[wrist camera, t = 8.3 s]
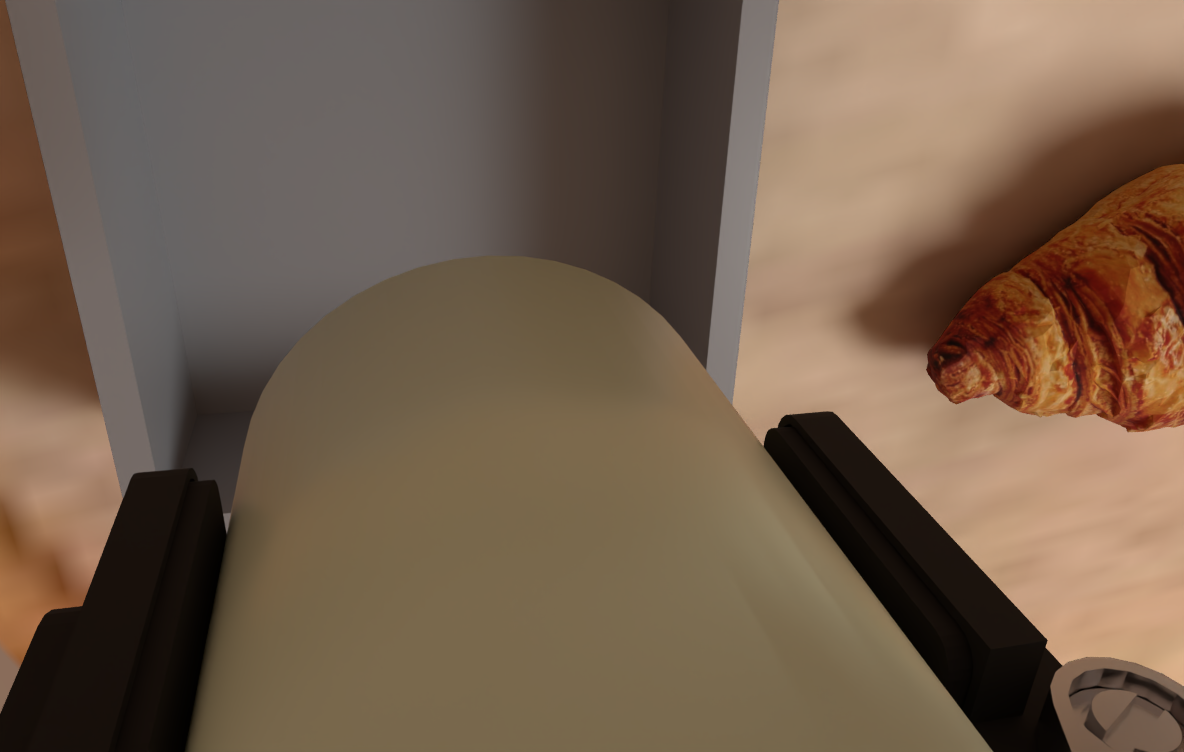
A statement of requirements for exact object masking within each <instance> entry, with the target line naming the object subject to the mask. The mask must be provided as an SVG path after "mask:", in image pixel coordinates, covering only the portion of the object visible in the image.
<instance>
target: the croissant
mask: <svg viewBox="0 0 1184 752" xmlns="http://www.w3.org/2000/svg"><path fill="white" fill-rule="evenodd" d="M927 357H928V365H927V369H926V370H927V372H928V375H929V376H930V378H931V379H932V380H933V381H934V383H935V385H936V388H937V389H938V391H940V392H941V393H942V394H943V395H945V396H946V397H947V398H948V399H949V401H950V402H953V403H955V404H959V403H961V402H964V401H966V400H969V399H971V398H979V397H982V396H986V395H991V394H993V395H994V396H995V397H996V398H998V399H999V400H1001V401H1002V402H1004V403H1005V404H1007V405H1008V406H1010V407H1012V408H1014V409H1015V410H1017V411H1019V412H1022V413H1026V414H1031V415H1037V416H1039V417H1042V416H1046V417H1047V416H1051V415H1055V414H1059V413H1066V414H1067V415H1068V416H1071V417H1075V418H1076V417H1079V416H1084V415H1092V414H1097V415H1098V416H1100V417H1102V418H1104V419H1106V420H1109V421H1111V422H1113V423H1116V424H1119V425H1121V426H1122V427H1125V428H1126V429H1127V431H1128V432H1144V431H1150V430H1155V429H1160V428H1163V427H1177V426H1180V425H1183V424H1184V164H1175V165H1167V166H1161V167H1159V168H1157V169H1155V170H1153V171H1151V172H1148V173H1146V174H1144V175H1142V176H1140V177H1138V178H1136V179H1134V180H1132V181H1131V182H1129V183H1127V184H1125V185H1123V186H1121V187H1120V188H1118V189H1116V190H1115V191H1113V192H1112V193H1110V194H1109V195H1108V196H1106V197H1105V198H1103V199H1101V200H1100V201H1098V202H1097V203H1096V204H1095V205H1094V206H1093V207H1092V208H1091V209H1090V210H1089V211H1088V212H1087V213H1086V214H1085V215H1084V216H1082V217H1081V218H1080V219H1079V220H1077V221H1076V222H1075V223H1074V224H1072V225H1070V226H1069V227H1067V228H1065V229H1063V230H1062V231H1060V232H1058V233H1057V234H1056V235H1055V236H1054V237H1053V238H1052V239H1051V240H1050V241H1049V242H1047V243H1046V244H1045V245H1043V246H1042V247H1041V248H1039V249H1038V250H1036V251H1035V252H1033V253H1032V254H1030V255H1028V256H1027V257H1025V258H1024V259H1023V260H1021V261H1020V262H1019V263H1018V264H1016V265H1015V266H1014V267H1013V268H1012V269H1011V270H1010V271H1008V272H1006V273H1001V274H999V275H997V276H996V277H994V278H992V279H991V280H990V281H989V282H987V283H986V284H985V285H983V286H982V287H981V288H980V289H979V290H978V291H977V292H976V293H975V294H974V295H973V296H972V297H971V298H970V300H969V301H968V302H967V303H966V304H965V305H964V307H963V308H962V309H961V310H960V311H959V313H958V314H957V315H956V317H955V318H954V319H953V321H952V322H951V323H950V324H949V326H948V327H947V329H946V330H945V331H944V333H943V334H942V336H941V337H940V338H939V340H938V341H937V343H936V344H935V345H934V346H933V347H932V348H931V349H930V350H929V352H928V354H927Z"/></svg>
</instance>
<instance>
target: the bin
mask: <svg viewBox="0 0 1184 752" xmlns="http://www.w3.org/2000/svg"><path fill="white" fill-rule="evenodd" d="M5 2H6V6H7V11H8V15H9V19H10V23H11V28H12V32H13V36H14V40H15V45H16V49H17V53H18V57H19V61H20V66H21V70H22V74H23V78H24V83H25V87H26V91H27V95H28V100H29V104H30V108H31V112H32V116H33V121H34V125H35V129H36V133H37V138H38V142H39V146H40V150H41V154H42V159H43V163H44V167H45V171H46V176H47V180H48V184H49V188H50V193H51V197H52V201H53V205H54V209H55V214H56V218H57V222H58V226H59V231H60V235H61V239H62V243H63V247H64V252H65V256H66V260H67V264H68V269H69V273H70V277H71V281H72V286H73V290H74V294H75V298H76V302H77V307H78V311H79V315H80V319H81V324H82V328H83V332H84V336H85V341H86V345H87V349H88V353H89V357H90V362H91V366H92V370H93V374H94V379H95V383H96V387H97V391H98V395H99V400H100V404H101V408H102V412H103V417H104V421H105V425H106V429H107V434H108V438H109V442H110V446H111V450H112V455H113V459H114V463H115V467H116V472H117V476H118V480H119V484H120V488H121V493H122V497H123V498H124V495H125V492H126V490H127V487H128V484H129V482H130V479H131V477H132V476H133V474H135V473H139V472H150V471H161V470H173V469H184V468H193V469H194V470H195V472H196V475H197V477H198V481H203V480H215V481H216V483H217V485H218V489H219V493H220V499H221V505H222V510H223V516H224V521H225V527H226V533H227V531H228V526H229V521H230V516H231V511H232V505H233V500H234V495H235V490H236V485H237V480H238V475H239V470H240V465H241V459H242V454H243V449H244V445H245V441H246V437H247V433H248V429H249V425H250V421H251V418H252V415H253V413H254V411H255V408H256V406H257V403H258V401H259V399H260V396H261V394H262V392H263V390H264V388H265V386H266V385H267V383H268V382H269V380H270V378H271V377H272V375H273V373H274V372H275V370H276V369H277V367H278V365H279V364H280V362H281V361H282V360H283V359H284V358H285V356H286V355H287V354H288V353H289V352H290V350H291V349H292V348H293V347H294V346H295V344H296V343H297V342H298V341H299V340H300V338H302V337H303V336H304V335H305V334H306V333H307V332H308V331H309V330H310V329H311V328H313V327H314V326H315V325H316V324H317V323H318V322H319V321H320V320H321V319H322V318H323V317H325V316H326V315H327V314H329V313H330V312H332V311H333V310H334V309H336V308H337V307H339V306H340V305H342V304H343V303H344V302H346V301H347V300H349V299H350V298H352V297H353V296H355V295H357V294H359V293H361V292H362V291H364V290H366V289H368V288H370V287H372V286H374V285H376V284H378V283H380V282H382V281H384V280H386V279H388V278H391V277H394V276H397V275H399V274H402V273H405V272H407V271H410V270H413V269H415V268H418V267H422V266H427V265H431V264H435V263H439V262H444V261H448V260H452V259H461V258H470V257H479V256H524V257H531V258H538V259H545V260H552V261H557V262H560V263H564V264H568V265H571V266H575V267H578V268H582V269H585V270H588V271H590V272H593V273H595V274H597V275H599V276H602V277H604V278H606V279H609V280H611V281H613V282H615V283H617V284H619V285H620V286H622V287H623V288H625V289H627V290H628V291H630V292H632V293H633V294H635V295H637V296H638V297H640V298H641V299H642V300H644V301H645V302H646V303H647V304H648V305H650V306H651V307H652V308H653V309H654V310H656V311H657V312H658V313H659V314H660V315H662V316H663V317H664V319H665V320H666V321H667V322H668V323H669V324H670V325H671V326H672V328H673V329H674V330H675V331H676V332H677V333H678V334H679V335H680V337H681V338H682V339H683V341H684V342H685V343H686V345H687V346H688V347H689V349H690V350H691V351H692V353H693V354H694V355H695V357H696V358H697V359H698V360H699V362H700V363H701V364H702V366H703V367H704V368H705V370H706V371H707V372H708V374H709V375H710V376H711V378H712V379H713V380H714V382H715V383H716V384H717V386H718V387H719V388H720V390H721V391H722V392H723V394H724V395H725V396H726V398H727V399H728V400H729V402H730V403H731V404H732V402H733V394H734V385H735V376H736V368H737V359H738V350H739V342H740V333H741V324H742V316H743V307H744V298H745V290H746V281H747V272H748V264H749V255H750V246H751V238H752V229H753V220H754V212H755V203H756V194H757V186H758V177H759V168H760V160H761V151H762V142H763V134H764V125H765V116H766V108H767V99H768V90H769V82H770V73H771V64H772V56H773V47H774V38H775V30H776V21H777V12H778V4H779V0H5Z"/></svg>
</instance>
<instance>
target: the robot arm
mask: <svg viewBox="0 0 1184 752" xmlns="http://www.w3.org/2000/svg"><path fill="white" fill-rule="evenodd" d="M764 448H765V449H766V451H767V452H768V453H769V455H770V456H771V457H772V459H773V460H774V461H775V463H776V464H777V465H778V467H779V468H780V469H781V471H782V472H783V473H784V475H785V476H786V477H787V479H788V480H789V481H790V483H791V484H792V485H793V487H794V488H795V489H796V491H797V492H798V493H799V495H800V496H801V497H802V499H803V500H804V501H805V503H806V504H807V505H808V507H809V508H810V509H811V511H812V512H813V513H814V515H815V516H816V517H817V519H818V520H819V521H820V523H821V524H822V525H823V527H824V528H825V529H826V531H827V532H828V533H829V534H830V536H831V537H832V538H833V540H834V541H835V542H836V544H837V545H838V546H839V548H840V549H841V550H842V552H843V553H844V554H845V556H846V557H847V558H848V560H849V561H850V562H851V564H852V565H853V566H854V568H855V569H856V570H857V572H858V573H859V574H860V576H861V577H862V578H863V580H864V581H865V582H866V584H867V585H868V586H869V588H870V589H871V590H872V592H873V593H874V594H875V596H876V597H877V598H878V600H879V601H880V602H881V604H882V605H883V606H884V608H885V609H886V610H887V612H888V613H889V614H890V616H891V617H892V618H893V620H894V621H895V622H896V623H897V625H898V626H899V627H900V629H901V630H902V631H903V633H904V634H905V635H906V637H907V638H908V639H909V641H910V642H911V643H912V645H913V646H914V647H915V649H916V650H917V651H918V653H919V654H920V655H921V657H922V658H923V659H924V661H925V662H926V663H927V665H928V666H929V667H930V669H931V670H932V671H933V673H934V674H935V675H936V677H937V678H938V679H939V681H940V682H941V683H942V685H943V686H944V687H945V689H946V690H947V691H948V693H949V694H950V695H951V697H952V698H953V699H954V701H955V702H956V703H957V705H958V706H959V707H960V708H961V710H962V711H963V712H964V714H965V715H966V716H967V718H968V719H969V720H970V722H971V723H972V724H973V726H974V727H975V728H976V730H977V731H978V732H979V734H980V735H981V736H982V738H983V739H984V740H985V742H986V743H987V744H988V746H989V747H990V748H991V750H992V751H993V752H1184V686H1182V685H1181V684H1179V683H1177V682H1176V681H1174V680H1172V679H1171V678H1169V677H1167V676H1165V675H1164V674H1162V673H1159V672H1157V671H1154V670H1152V669H1149V668H1147V667H1144V666H1142V665H1139V664H1137V663H1133V662H1128V661H1124V660H1119V659H1115V658H1108V657H1085V658H1081V659H1078V660H1074V661H1070V662H1067V663H1066V664H1065V665H1064V666H1062V665H1061V664H1060V663H1059V662H1058V661H1057V659H1056V658H1055V657H1054V656H1053V655H1052V654H1051V653H1050V652H1049V651H1048V650H1047V649H1046V648H1045V647H1046V644H1047V641H1048V640H1047V639H1046V638H1045V637H1044V636H1043V635H1042V634H1041V633H1040V632H1039V631H1038V630H1037V629H1036V627H1035V626H1034V625H1033V624H1032V623H1031V622H1030V621H1029V620H1028V619H1027V618H1026V617H1025V616H1024V615H1023V614H1022V612H1021V611H1020V610H1019V609H1018V608H1017V607H1016V606H1015V605H1014V604H1013V603H1012V602H1011V601H1010V600H1009V599H1008V598H1007V596H1006V595H1005V594H1004V593H1003V592H1002V591H1001V590H1000V589H999V588H998V587H997V586H996V585H995V584H994V583H993V582H992V580H991V579H990V578H989V577H988V576H987V575H986V574H985V573H984V572H983V571H982V570H981V569H980V568H979V567H978V565H977V564H976V563H975V562H974V561H973V560H972V559H971V558H970V557H969V556H968V555H967V554H966V553H965V552H964V551H963V549H962V548H961V547H960V546H959V545H958V544H957V543H956V542H955V541H954V540H953V539H952V538H951V537H950V536H949V535H948V533H947V532H946V531H945V530H944V529H943V528H942V527H941V526H940V525H939V524H938V523H937V522H936V521H935V520H934V518H933V517H932V516H931V515H930V514H929V513H928V512H927V511H926V510H925V509H924V508H923V507H922V506H921V505H920V504H919V502H918V501H917V500H916V499H915V498H914V497H913V496H912V495H911V494H910V493H909V492H908V491H907V490H906V489H905V488H904V486H903V485H902V484H901V483H900V482H899V481H898V480H897V479H896V478H895V477H894V476H893V475H892V474H891V473H890V472H889V470H888V469H887V468H886V467H885V466H884V465H883V464H882V463H881V462H880V461H879V460H878V459H877V458H876V457H875V455H874V454H873V453H872V452H871V451H870V450H869V449H868V448H867V447H866V446H865V445H864V444H863V443H862V442H861V441H860V439H859V438H858V437H857V436H856V435H855V434H854V433H853V432H852V431H851V430H850V429H849V428H848V427H847V426H846V425H845V423H844V422H843V421H842V420H841V419H840V418H839V417H838V416H837V415H836V414H834V413H833V412H815V413H804V414H793V415H785V416H784V417H783V418H782V419H781V421H780V423H779V425H778V428H771V429H770V430H768V432H767V434H766V437H765V441H764ZM226 536H227V533H226V527H225V521H224V516H223V510H222V505H221V499H220V493H219V489H218V485H217V483H216V481H215V480H203V481H198V477H197V475H196V472H195V470H194V469H193V468H184V469H173V470H161V471H150V472H139V473H135V474H133V476H132V477H131V479H130V482H129V484H128V487H127V490H126V492H125V495H124V498H123V500H122V503H121V506H120V508H119V511H118V513H117V516H116V519H115V521H114V524H113V527H112V529H111V532H110V535H109V537H108V540H107V542H106V545H105V548H104V550H103V553H102V556H101V558H100V561H99V564H98V566H97V569H96V571H95V574H94V577H93V579H92V582H91V585H90V587H89V590H88V593H87V595H86V598H85V600H84V603H83V606H80V607H71V608H63V609H54V610H51V611H50V612H48V613H47V614H45V615H44V617H43V618H42V620H41V622H40V624H39V625H38V627H37V629H36V632H35V634H34V636H33V639H32V641H31V643H30V646H29V648H28V650H27V653H26V655H25V657H24V660H23V662H22V664H21V667H20V669H19V671H18V674H17V676H16V678H15V681H14V683H13V685H12V688H11V690H10V692H9V695H8V697H7V699H6V702H5V704H4V707H3V709H2V711H1V713H0V752H184V751H185V746H186V741H187V736H188V731H189V725H190V720H191V715H192V710H193V705H194V700H195V695H196V690H197V685H198V679H199V674H200V669H201V664H202V659H203V654H204V649H205V644H206V638H207V633H208V628H209V623H210V618H211V613H212V608H213V603H214V598H215V592H216V587H217V582H218V577H219V572H220V567H221V562H222V557H223V552H224V546H225V541H226Z"/></svg>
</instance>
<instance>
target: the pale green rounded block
mask: <svg viewBox="0 0 1184 752" xmlns="http://www.w3.org/2000/svg"><path fill="white" fill-rule="evenodd" d="M184 752H993V751H992V750H991V748H990V747H989V746H988V744H987V743H986V742H985V740H984V739H983V738H982V736H981V735H980V734H979V732H978V731H977V730H976V728H975V727H974V726H973V724H972V723H971V722H970V720H969V719H968V718H967V716H966V715H965V714H964V712H963V711H962V710H961V708H960V707H959V706H958V705H957V703H956V702H955V701H954V699H953V698H952V697H951V695H950V694H949V693H948V691H947V690H946V689H945V687H944V686H943V685H942V683H941V682H940V681H939V679H938V678H937V677H936V675H935V674H934V673H933V671H932V670H931V669H930V667H929V666H928V665H927V663H926V662H925V661H924V659H923V658H922V657H921V655H920V654H919V653H918V651H917V650H916V649H915V647H914V646H913V645H912V643H911V642H910V641H909V639H908V638H907V637H906V635H905V634H904V633H903V631H902V630H901V629H900V627H899V626H898V625H897V623H896V622H895V621H894V620H893V618H892V617H891V616H890V614H889V613H888V612H887V610H886V609H885V608H884V606H883V605H882V604H881V602H880V601H879V600H878V598H877V597H876V596H875V594H874V593H873V592H872V590H871V589H870V588H869V586H868V585H867V584H866V582H865V581H864V580H863V578H862V577H861V576H860V574H859V573H858V572H857V570H856V569H855V568H854V566H853V565H852V564H851V562H850V561H849V560H848V558H847V557H846V556H845V554H844V553H843V552H842V550H841V549H840V548H839V546H838V545H837V544H836V542H835V541H834V540H833V538H832V537H831V536H830V534H829V533H828V532H827V531H826V529H825V528H824V527H823V525H822V524H821V523H820V521H819V520H818V519H817V517H816V516H815V515H814V513H813V512H812V511H811V509H810V508H809V507H808V505H807V504H806V503H805V501H804V500H803V499H802V497H801V496H800V495H799V493H798V492H797V491H796V489H795V488H794V487H793V485H792V484H791V483H790V481H789V480H788V479H787V477H786V476H785V475H784V473H783V472H782V471H781V469H780V468H779V467H778V465H777V464H776V463H775V461H774V460H773V459H772V457H771V456H770V455H769V453H768V452H767V451H766V449H765V448H764V447H763V446H762V444H761V443H760V442H759V440H758V439H757V438H756V436H755V435H754V434H753V432H752V431H751V430H750V428H749V427H748V426H747V424H746V423H745V422H744V420H743V419H742V418H741V416H740V415H739V414H738V412H737V411H736V410H735V408H734V407H733V406H732V404H731V403H730V402H729V400H728V399H727V398H726V396H725V395H724V394H723V392H722V391H721V390H720V388H719V387H718V386H717V384H716V383H715V382H714V380H713V379H712V378H711V376H710V375H709V374H708V372H707V371H706V370H705V368H704V367H703V366H702V364H701V363H700V362H699V360H698V359H697V358H696V357H695V355H694V354H693V353H692V351H691V350H690V349H689V347H688V346H687V345H686V343H685V342H684V341H683V339H682V338H681V337H680V335H679V334H678V333H677V332H676V331H675V330H674V329H673V328H672V326H671V325H670V324H669V323H668V322H667V321H666V320H665V319H664V317H663V316H662V315H660V314H659V313H658V312H657V311H656V310H654V309H653V308H652V307H651V306H650V305H648V304H647V303H646V302H645V301H644V300H642V299H641V298H640V297H638V296H637V295H635V294H633V293H632V292H630V291H628V290H627V289H625V288H623V287H622V286H620V285H619V284H617V283H615V282H613V281H611V280H609V279H606V278H604V277H602V276H599V275H597V274H595V273H593V272H590V271H588V270H585V269H582V268H578V267H575V266H571V265H568V264H564V263H560V262H557V261H552V260H545V259H538V258H531V257H524V256H479V257H470V258H461V259H452V260H448V261H444V262H439V263H435V264H431V265H427V266H422V267H418V268H415V269H413V270H410V271H407V272H405V273H402V274H399V275H397V276H394V277H391V278H388V279H386V280H384V281H382V282H380V283H378V284H376V285H374V286H372V287H370V288H368V289H366V290H364V291H362V292H361V293H359V294H357V295H355V296H353V297H352V298H350V299H349V300H347V301H346V302H344V303H343V304H342V305H340V306H339V307H337V308H336V309H334V310H333V311H332V312H330V313H329V314H327V315H326V316H325V317H323V318H322V319H321V320H320V321H319V322H318V323H317V324H316V325H315V326H314V327H313V328H311V329H310V330H309V331H308V332H307V333H306V334H305V335H304V336H303V337H302V338H300V340H299V341H298V342H297V343H296V344H295V346H294V347H293V348H292V349H291V350H290V352H289V353H288V354H287V355H286V356H285V358H284V359H283V360H282V361H281V362H280V364H279V365H278V367H277V369H276V370H275V372H274V373H273V375H272V377H271V378H270V380H269V382H268V383H267V385H266V386H265V388H264V390H263V392H262V394H261V396H260V399H259V401H258V403H257V406H256V408H255V411H254V413H253V415H252V418H251V421H250V425H249V429H248V433H247V437H246V441H245V445H244V449H243V454H242V459H241V465H240V470H239V475H238V480H237V485H236V490H235V495H234V500H233V505H232V511H231V516H230V521H229V526H228V531H227V536H226V541H225V546H224V552H223V557H222V562H221V567H220V572H219V577H218V582H217V587H216V592H215V598H214V603H213V608H212V613H211V618H210V623H209V628H208V633H207V638H206V644H205V649H204V654H203V659H202V664H201V669H200V674H199V679H198V685H197V690H196V695H195V700H194V705H193V710H192V715H191V720H190V725H189V731H188V736H187V741H186V746H185V751H184Z"/></svg>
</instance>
